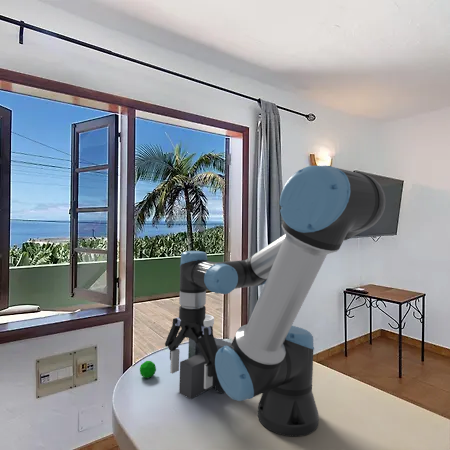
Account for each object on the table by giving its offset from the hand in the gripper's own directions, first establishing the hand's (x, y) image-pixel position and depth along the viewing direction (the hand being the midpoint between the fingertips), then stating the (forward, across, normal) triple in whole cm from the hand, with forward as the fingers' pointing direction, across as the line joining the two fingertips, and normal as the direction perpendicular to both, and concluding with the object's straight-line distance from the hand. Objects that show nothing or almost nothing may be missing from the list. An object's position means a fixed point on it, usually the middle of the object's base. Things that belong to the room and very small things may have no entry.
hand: (190, 379), depth 98 cm
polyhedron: (+4, +17, +2) cm, 18 cm away
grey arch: (+4, 0, -8) cm, 9 cm away
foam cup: (+4, +19, -24) cm, 31 cm away
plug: (+4, 0, -8) cm, 9 cm away
